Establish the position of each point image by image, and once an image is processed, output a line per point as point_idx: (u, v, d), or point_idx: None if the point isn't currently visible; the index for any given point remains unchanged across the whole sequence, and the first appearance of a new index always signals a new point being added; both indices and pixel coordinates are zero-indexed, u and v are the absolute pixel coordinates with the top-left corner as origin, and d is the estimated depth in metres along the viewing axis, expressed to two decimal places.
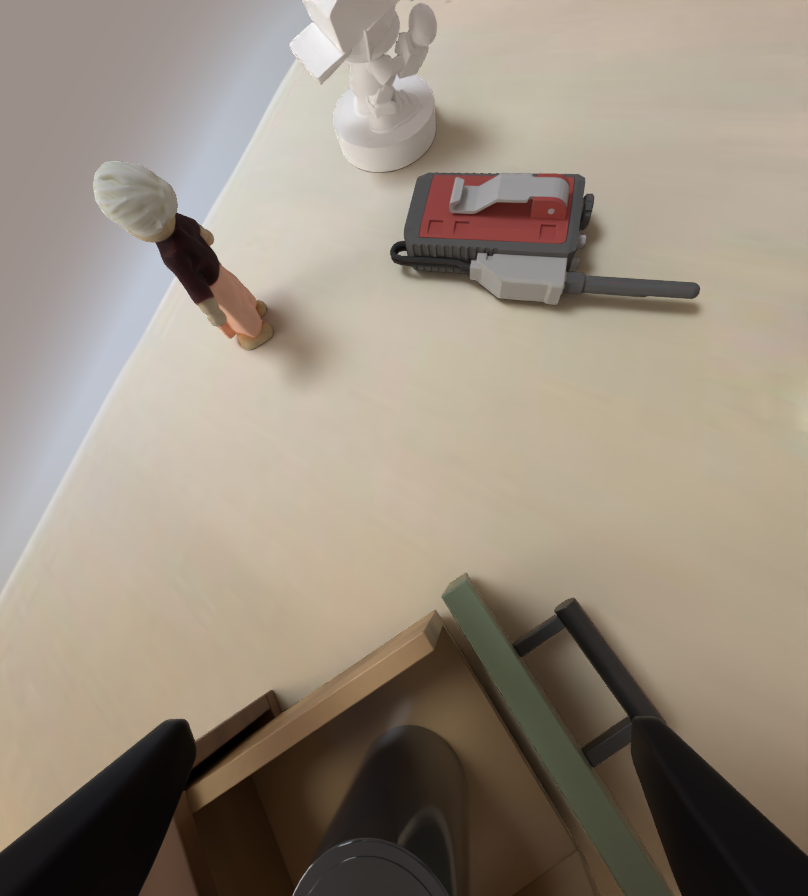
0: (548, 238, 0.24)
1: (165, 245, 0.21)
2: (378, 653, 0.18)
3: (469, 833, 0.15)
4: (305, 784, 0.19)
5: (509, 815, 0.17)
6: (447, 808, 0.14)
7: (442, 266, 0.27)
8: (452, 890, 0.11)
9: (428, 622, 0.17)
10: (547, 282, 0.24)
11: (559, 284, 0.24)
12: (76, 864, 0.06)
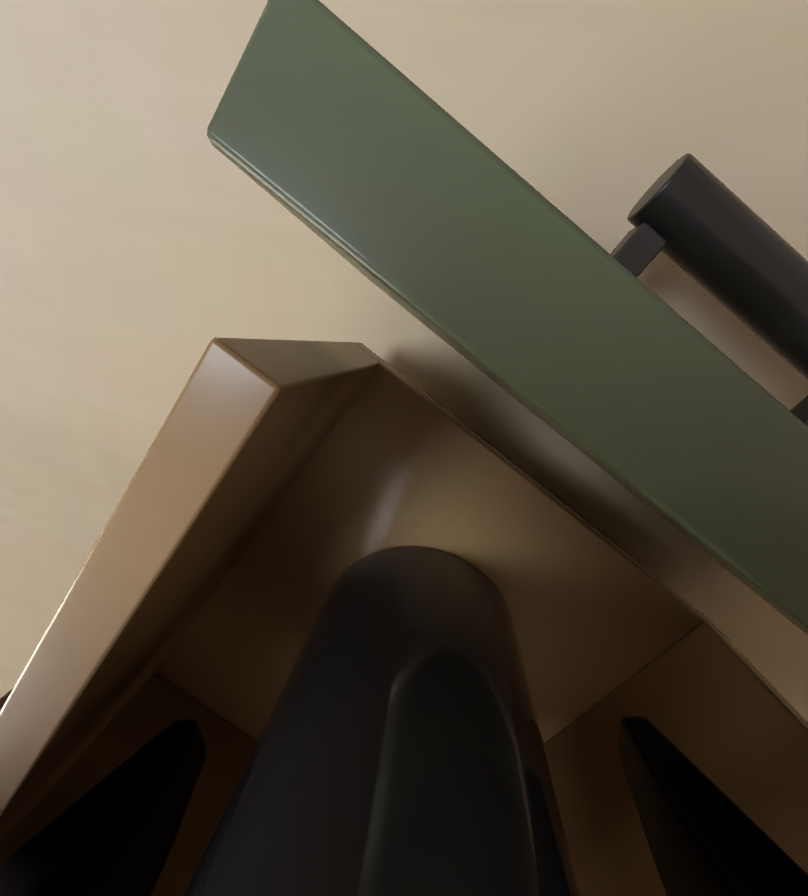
0: None
1: None
2: None
3: (531, 703, 0.07)
4: (255, 672, 0.12)
5: (582, 613, 0.10)
6: (474, 731, 0.05)
7: None
8: None
9: None
10: None
11: None
12: (89, 865, 0.06)
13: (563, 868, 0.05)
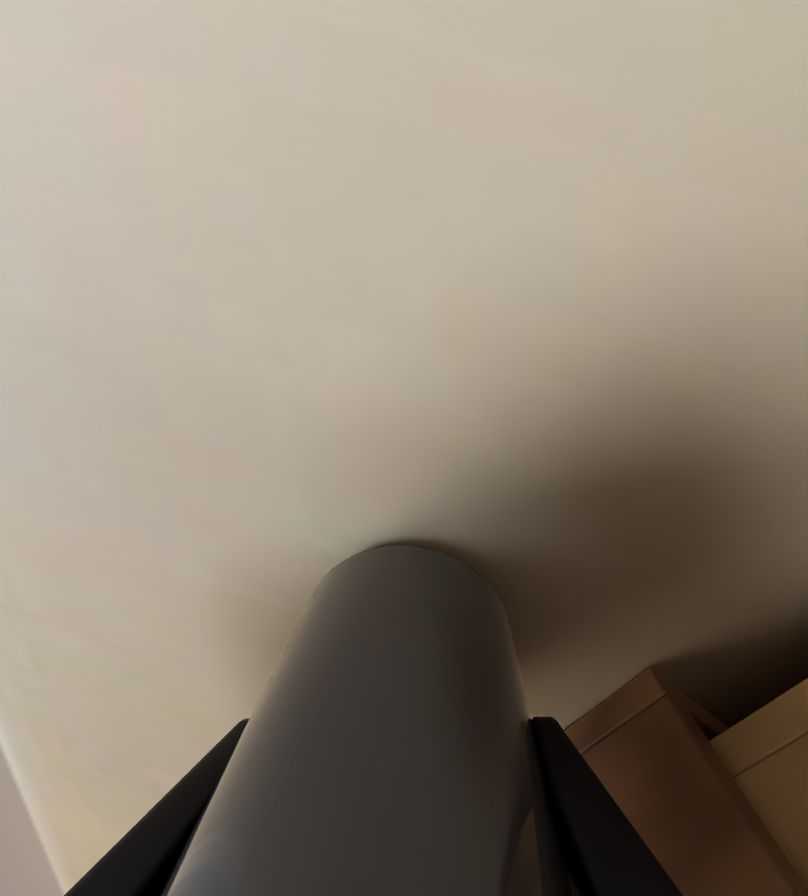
0: None
1: None
2: None
3: (528, 716, 0.07)
4: None
5: None
6: (465, 757, 0.05)
7: None
8: None
9: None
10: None
11: None
12: None
13: None
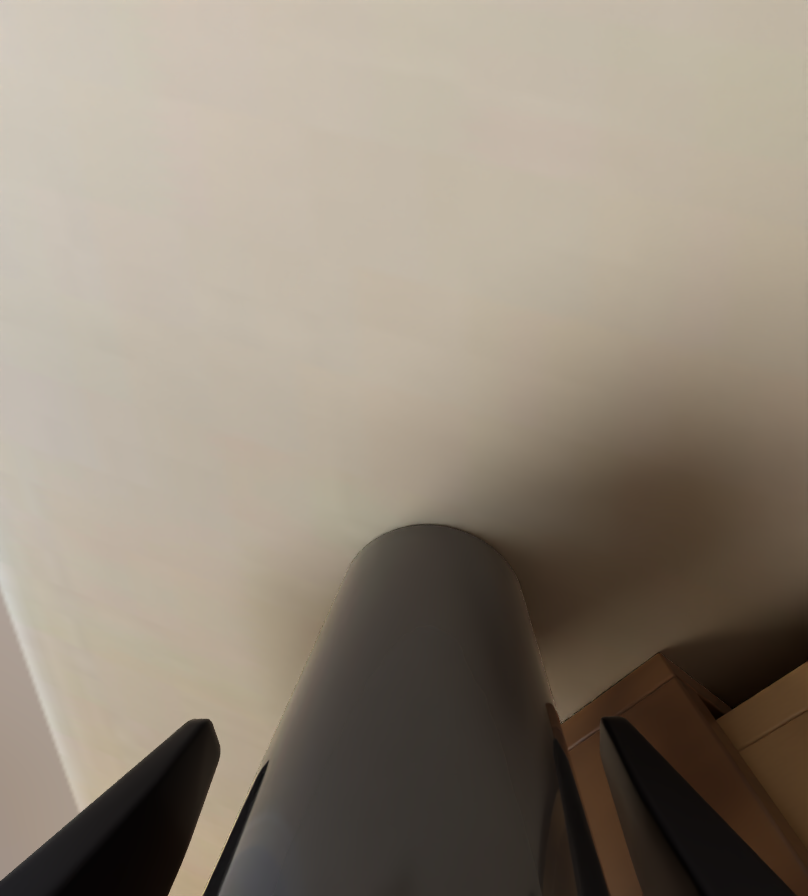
0: None
1: None
2: None
3: (542, 663, 0.08)
4: None
5: None
6: (494, 678, 0.06)
7: None
8: None
9: None
10: None
11: None
12: (108, 866, 0.06)
13: (574, 792, 0.05)
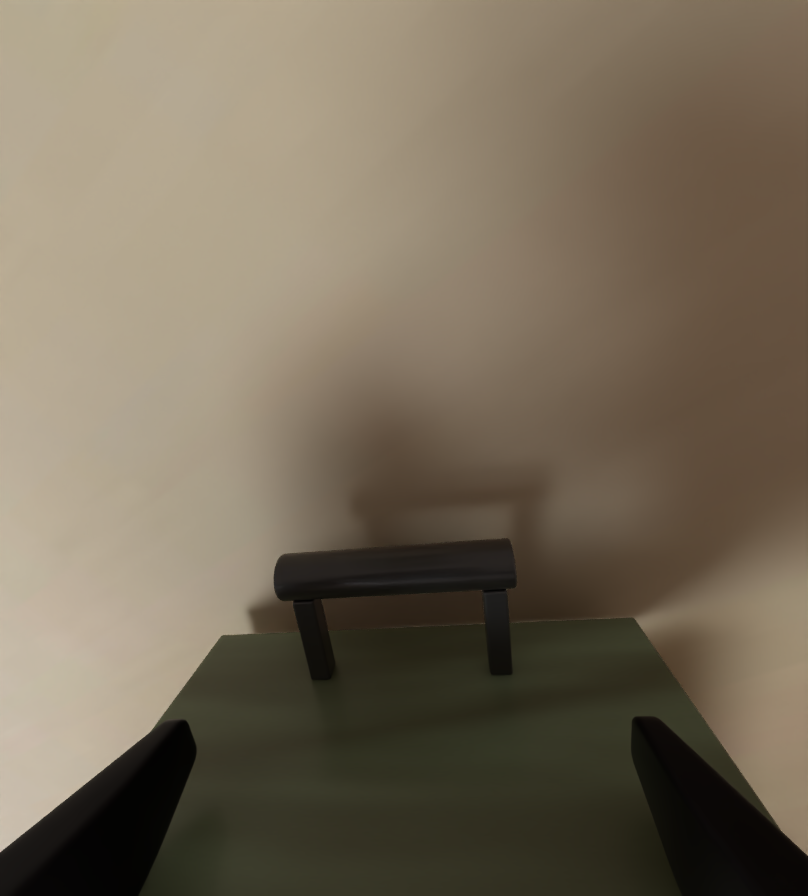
0: None
1: None
2: None
3: None
4: None
5: None
6: None
7: None
8: None
9: None
10: None
11: None
12: (76, 864, 0.06)
13: None
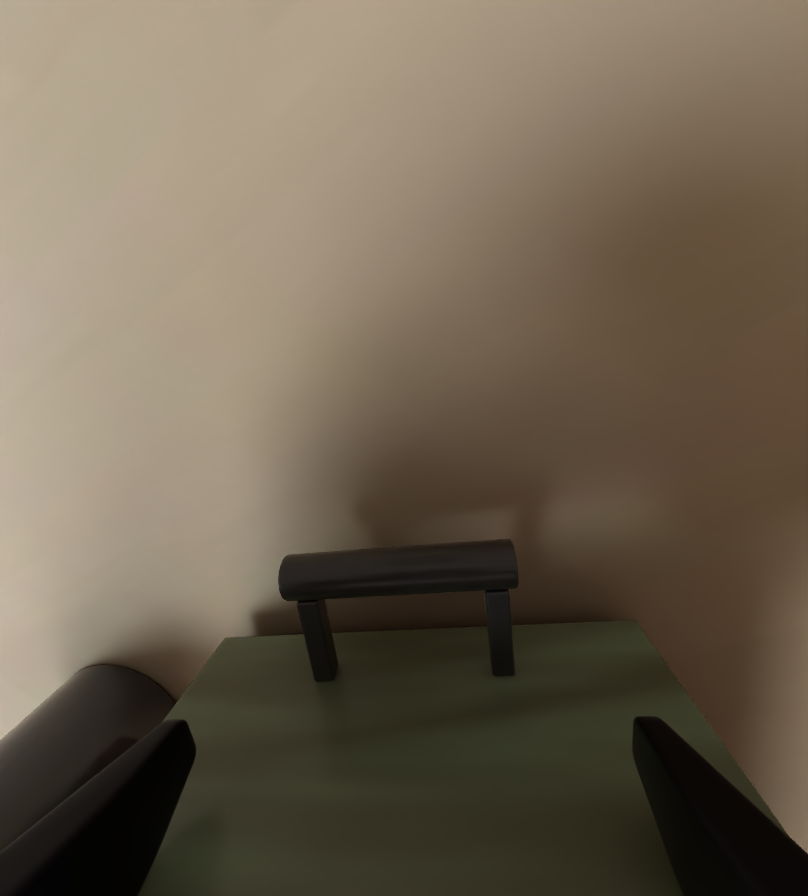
0: None
1: None
2: None
3: (59, 744, 0.12)
4: None
5: None
6: None
7: None
8: None
9: None
10: None
11: None
12: (75, 864, 0.06)
13: None
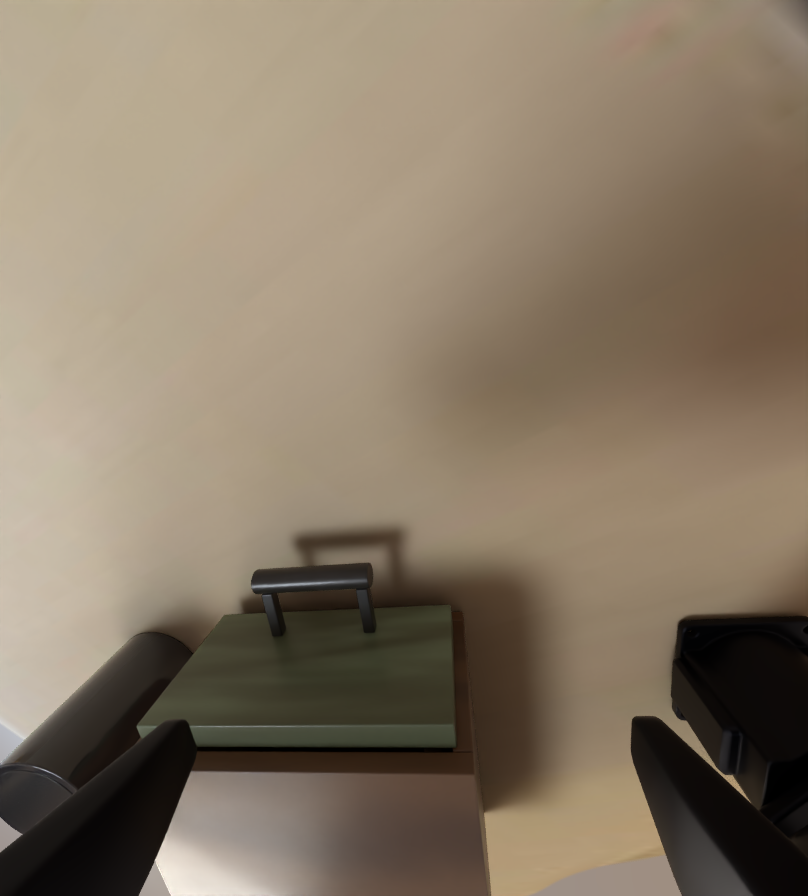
0: None
1: None
2: None
3: (130, 673, 0.22)
4: None
5: None
6: (75, 697, 0.20)
7: None
8: (22, 756, 0.17)
9: None
10: None
11: None
12: (76, 864, 0.06)
13: (84, 714, 0.19)
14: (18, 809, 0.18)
